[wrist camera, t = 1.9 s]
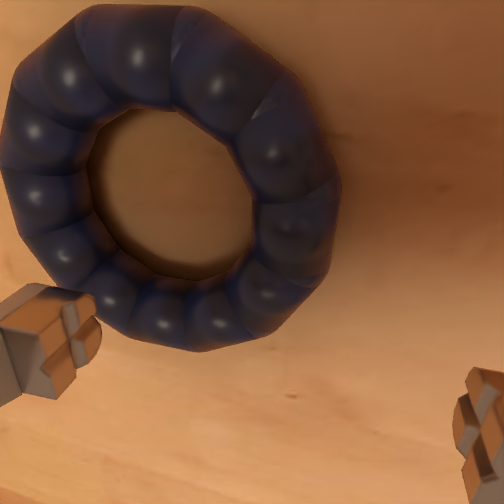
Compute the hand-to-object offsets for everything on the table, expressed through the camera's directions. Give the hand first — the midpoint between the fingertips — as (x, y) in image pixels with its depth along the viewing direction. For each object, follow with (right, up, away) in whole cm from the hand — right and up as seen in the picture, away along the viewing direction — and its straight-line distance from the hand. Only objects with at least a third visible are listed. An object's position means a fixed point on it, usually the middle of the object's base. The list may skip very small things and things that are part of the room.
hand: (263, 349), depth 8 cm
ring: (-4, +4, +6) cm, 8 cm away
